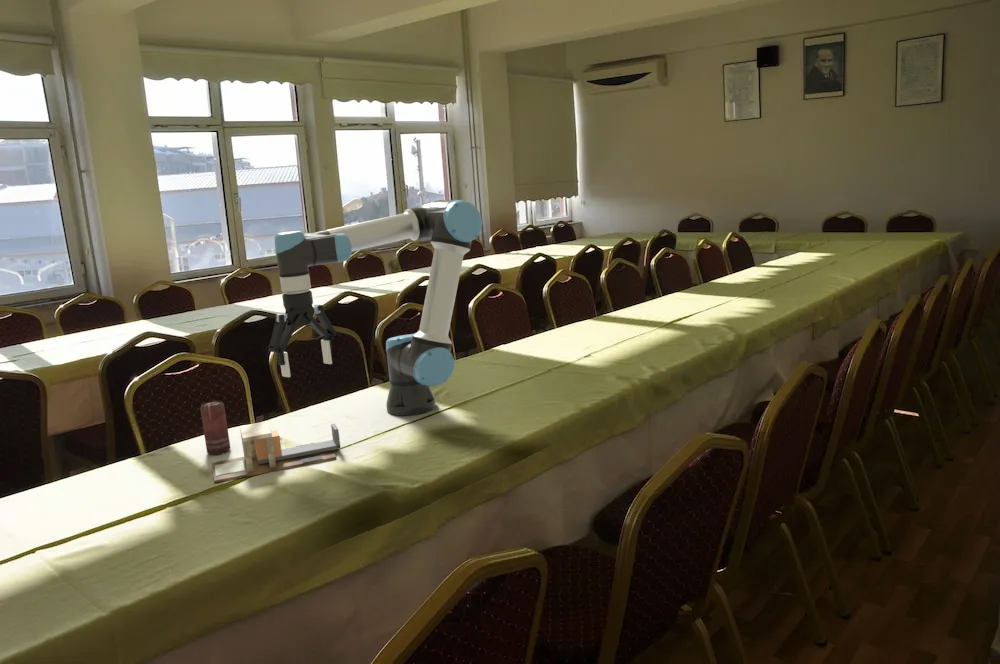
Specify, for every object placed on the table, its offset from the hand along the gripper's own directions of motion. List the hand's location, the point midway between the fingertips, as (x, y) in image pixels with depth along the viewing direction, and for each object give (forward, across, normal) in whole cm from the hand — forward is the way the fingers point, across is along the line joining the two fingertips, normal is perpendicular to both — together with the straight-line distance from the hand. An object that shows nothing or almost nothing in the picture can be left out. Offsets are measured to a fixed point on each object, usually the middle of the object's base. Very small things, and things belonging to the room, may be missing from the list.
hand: (307, 369), depth 208 cm
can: (+22, +16, -23) cm, 35 cm away
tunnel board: (+22, +13, -2) cm, 25 cm away
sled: (+21, +8, +2) cm, 22 cm away
